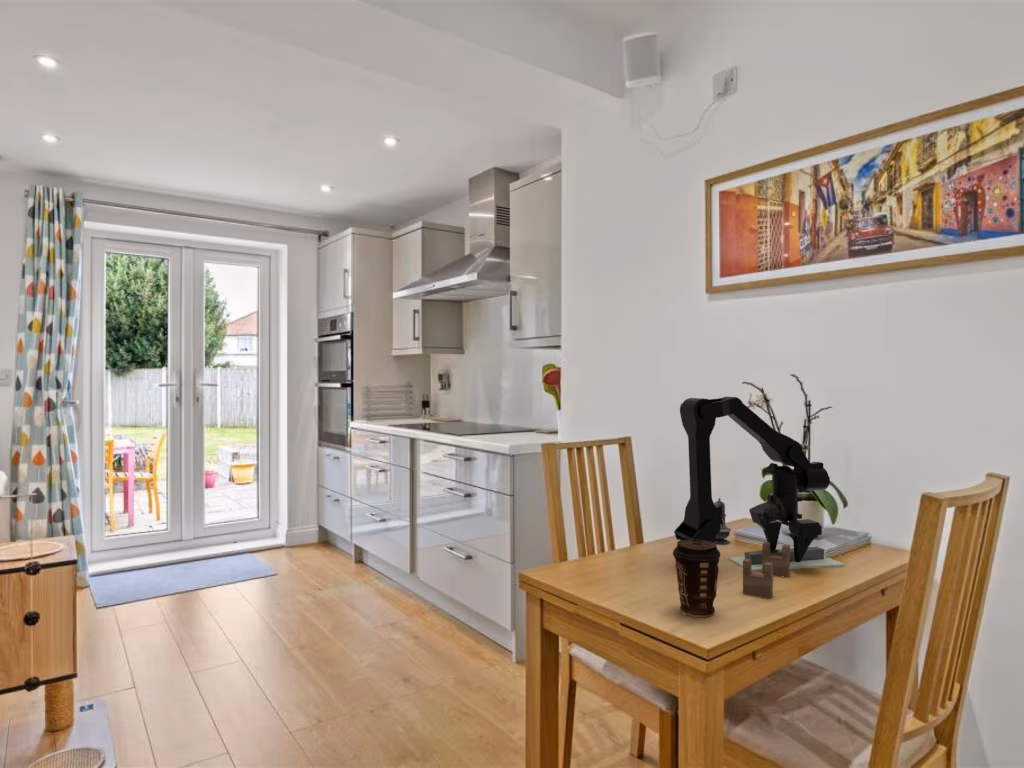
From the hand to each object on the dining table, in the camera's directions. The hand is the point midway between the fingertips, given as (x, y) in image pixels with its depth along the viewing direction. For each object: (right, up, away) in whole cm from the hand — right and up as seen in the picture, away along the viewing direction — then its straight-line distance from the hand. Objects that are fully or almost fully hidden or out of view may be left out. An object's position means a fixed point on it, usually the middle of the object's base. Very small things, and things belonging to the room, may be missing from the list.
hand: (784, 556), depth 150 cm
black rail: (0, -1, 0) cm, 1 cm away
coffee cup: (-30, -2, -31) cm, 43 cm away
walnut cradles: (-11, -2, -15) cm, 19 cm away
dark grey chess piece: (-9, -2, +19) cm, 21 cm away
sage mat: (0, -2, 0) cm, 2 cm away
